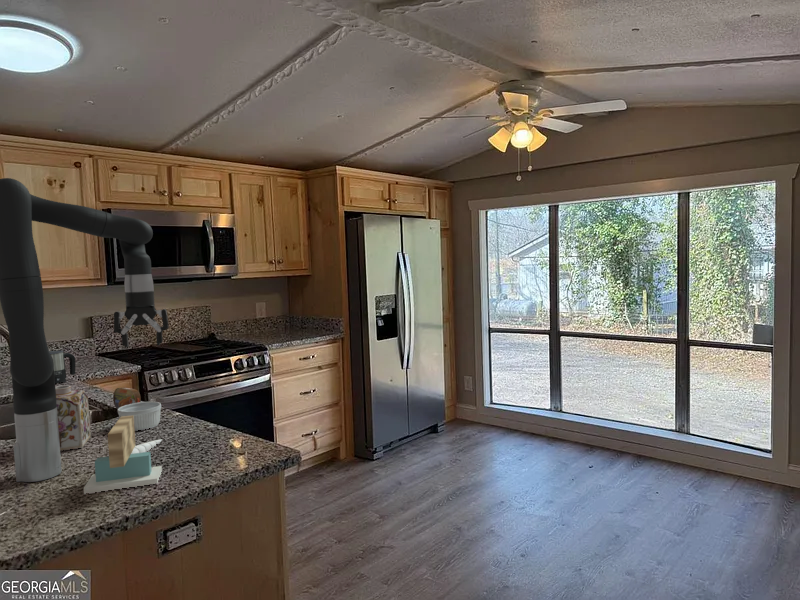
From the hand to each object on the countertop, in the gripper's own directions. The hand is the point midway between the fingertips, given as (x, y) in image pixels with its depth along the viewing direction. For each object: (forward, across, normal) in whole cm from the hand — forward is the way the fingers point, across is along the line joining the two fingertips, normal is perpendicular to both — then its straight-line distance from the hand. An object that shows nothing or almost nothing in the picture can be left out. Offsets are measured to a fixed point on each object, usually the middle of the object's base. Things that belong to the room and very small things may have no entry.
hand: (143, 346), depth 163 cm
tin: (+30, -14, +51) cm, 61 cm away
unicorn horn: (+31, -2, -6) cm, 31 cm away
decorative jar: (+30, -25, +12) cm, 41 cm away
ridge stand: (+30, -2, -27) cm, 40 cm away
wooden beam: (+24, -2, -27) cm, 36 cm away
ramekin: (+30, -6, +25) cm, 40 cm away
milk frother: (+30, -58, +125) cm, 141 cm away
